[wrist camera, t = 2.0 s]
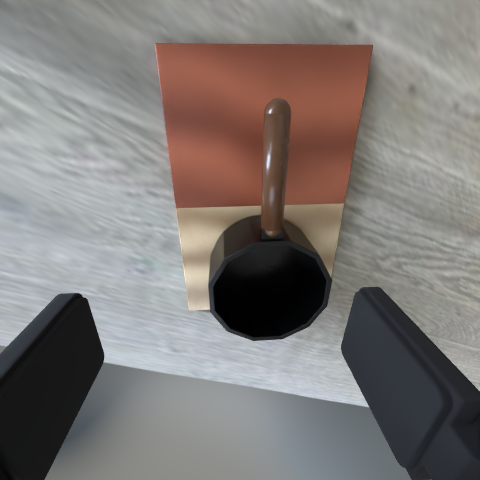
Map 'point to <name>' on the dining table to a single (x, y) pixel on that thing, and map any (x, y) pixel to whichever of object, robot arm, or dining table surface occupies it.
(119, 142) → the dining table surface
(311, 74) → the board
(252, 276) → the saucepan
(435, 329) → the dining table surface
